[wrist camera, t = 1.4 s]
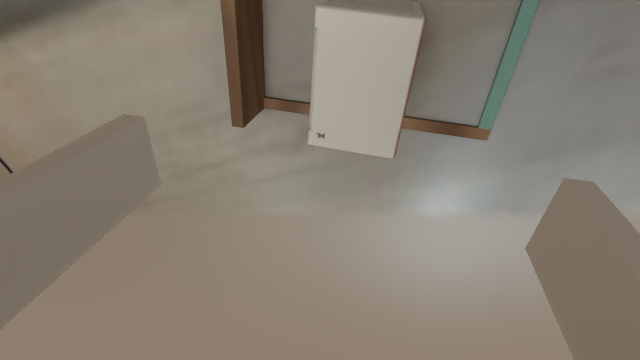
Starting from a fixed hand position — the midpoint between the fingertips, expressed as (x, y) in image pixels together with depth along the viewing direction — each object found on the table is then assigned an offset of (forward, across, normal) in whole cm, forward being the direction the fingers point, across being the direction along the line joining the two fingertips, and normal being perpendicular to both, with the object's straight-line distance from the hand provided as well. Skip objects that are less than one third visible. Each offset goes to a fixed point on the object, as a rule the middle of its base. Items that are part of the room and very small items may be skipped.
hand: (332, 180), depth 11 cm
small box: (+20, 0, 0) cm, 20 cm away
